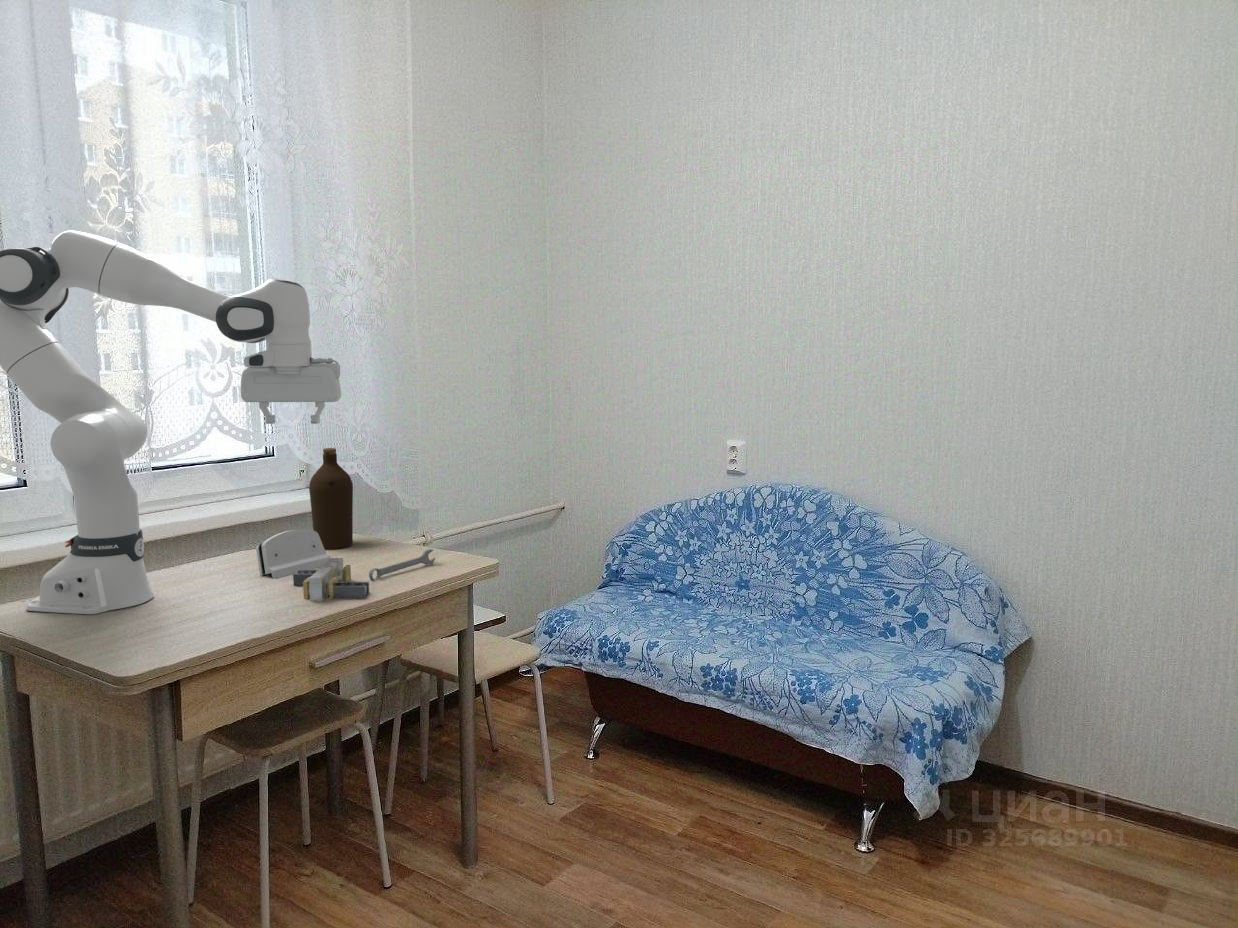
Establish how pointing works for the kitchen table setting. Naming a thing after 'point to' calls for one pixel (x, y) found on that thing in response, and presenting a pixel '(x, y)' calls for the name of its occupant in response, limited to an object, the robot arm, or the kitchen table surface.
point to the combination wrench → (402, 565)
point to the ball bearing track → (334, 584)
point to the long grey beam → (325, 579)
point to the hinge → (291, 553)
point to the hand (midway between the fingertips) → (293, 423)
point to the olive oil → (332, 503)
